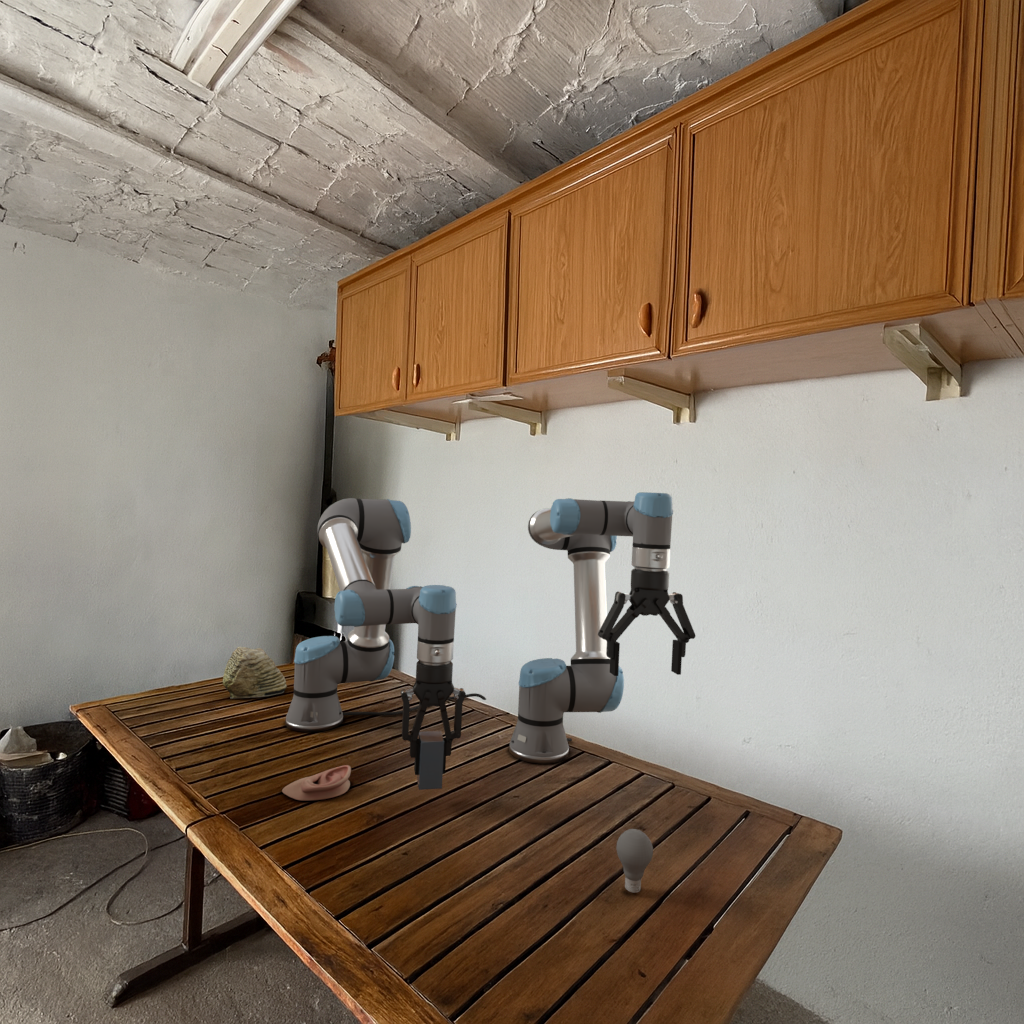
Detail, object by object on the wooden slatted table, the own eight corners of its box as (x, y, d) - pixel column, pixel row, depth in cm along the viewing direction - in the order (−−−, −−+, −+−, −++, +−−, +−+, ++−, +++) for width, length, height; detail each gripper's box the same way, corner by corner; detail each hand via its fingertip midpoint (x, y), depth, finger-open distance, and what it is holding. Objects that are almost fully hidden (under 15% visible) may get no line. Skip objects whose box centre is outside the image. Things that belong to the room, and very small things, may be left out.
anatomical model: (274, 778, 132) (303, 756, 144) (273, 796, 132) (302, 774, 144) (333, 786, 130) (357, 764, 141) (332, 805, 130) (357, 781, 141)
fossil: (218, 695, 195) (220, 647, 195) (278, 685, 208) (279, 640, 207) (228, 703, 189) (230, 653, 188) (289, 692, 201) (290, 645, 201)
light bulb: (610, 879, 108) (613, 822, 108) (644, 879, 109) (647, 822, 109) (619, 902, 102) (622, 840, 102) (655, 901, 103) (658, 840, 103)
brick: (418, 789, 129) (421, 742, 129) (416, 777, 134) (418, 731, 134) (441, 788, 130) (444, 741, 130) (438, 775, 136) (441, 730, 135)
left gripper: (392, 666, 126) (386, 781, 126) (480, 665, 130) (474, 777, 131) (390, 656, 133) (385, 765, 134) (474, 655, 137) (468, 761, 138)
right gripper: (598, 570, 121) (593, 680, 122) (715, 572, 127) (710, 677, 127) (585, 565, 129) (580, 669, 129) (696, 567, 134) (692, 667, 135)
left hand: (429, 771), depth 132 cm, fingers closed on brick, 5 cm apart
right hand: (645, 673), depth 128 cm, fingers open, 13 cm apart
